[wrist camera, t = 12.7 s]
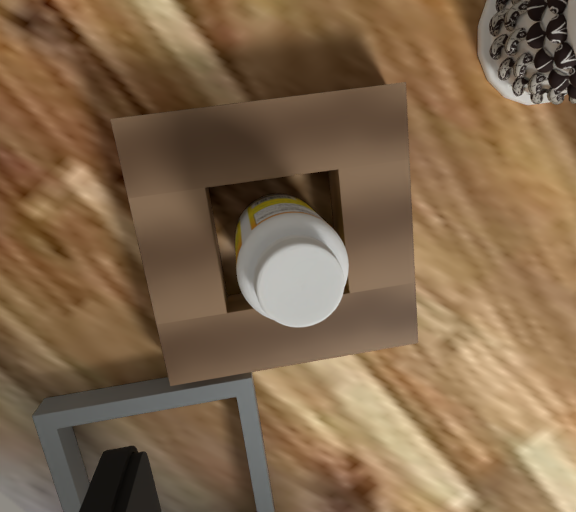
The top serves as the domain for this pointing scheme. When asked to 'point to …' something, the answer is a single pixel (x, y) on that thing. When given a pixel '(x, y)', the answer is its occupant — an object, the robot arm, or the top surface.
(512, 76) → the decorative candle
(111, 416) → the square frame
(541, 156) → the top surface
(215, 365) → the socket block
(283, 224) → the supplement bottle
